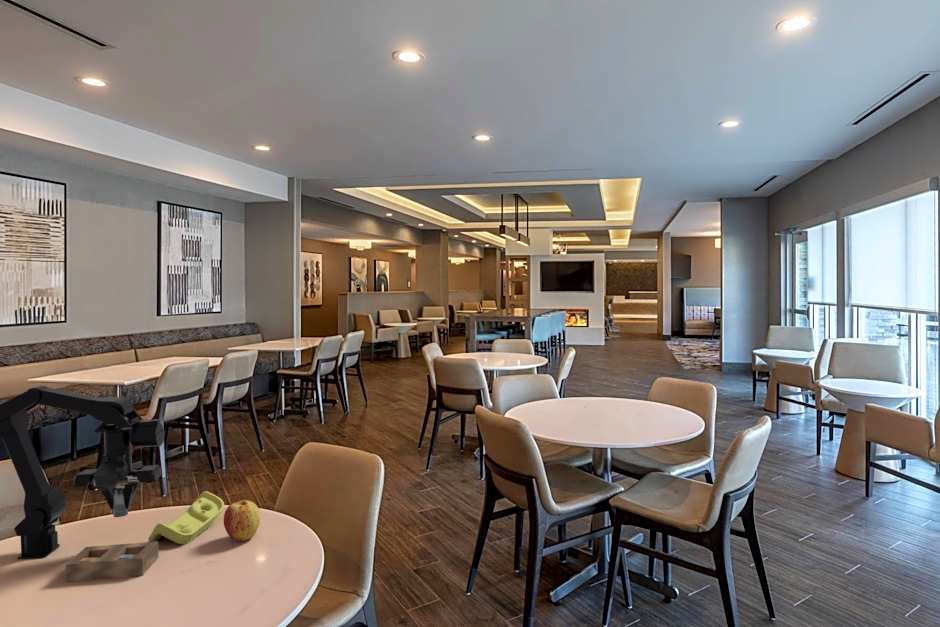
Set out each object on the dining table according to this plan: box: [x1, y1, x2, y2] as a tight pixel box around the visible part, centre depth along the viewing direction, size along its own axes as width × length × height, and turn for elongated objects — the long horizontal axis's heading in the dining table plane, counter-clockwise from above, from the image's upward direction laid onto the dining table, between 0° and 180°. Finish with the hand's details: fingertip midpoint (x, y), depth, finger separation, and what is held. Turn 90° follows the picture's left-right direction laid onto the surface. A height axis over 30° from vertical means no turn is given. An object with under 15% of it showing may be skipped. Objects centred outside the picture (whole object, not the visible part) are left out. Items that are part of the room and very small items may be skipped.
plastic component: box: [148, 490, 225, 545], centre depth 153 cm, size 20×7×10 cm
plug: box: [112, 485, 129, 518], centre depth 143 cm, size 3×3×7 cm
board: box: [64, 540, 159, 583], centre depth 131 cm, size 16×9×4 cm, turn 99°
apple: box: [223, 499, 261, 542], centre depth 147 cm, size 9×9×10 cm
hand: (120, 508), depth 143 cm, fingers closed on plug, 3 cm apart
